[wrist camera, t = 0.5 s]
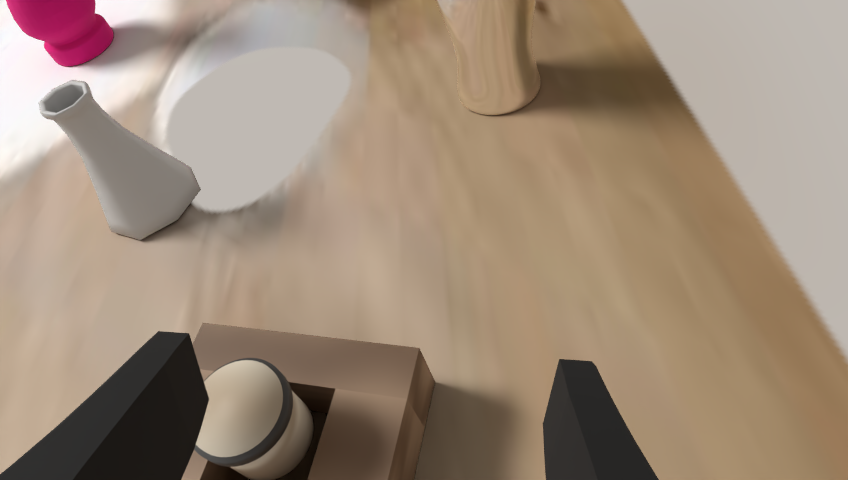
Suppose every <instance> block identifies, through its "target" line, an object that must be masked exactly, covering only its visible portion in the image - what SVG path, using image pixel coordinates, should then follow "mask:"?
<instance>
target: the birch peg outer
mask: <svg viewBox="0 0 848 480" xmlns="http://www.w3.org/2000/svg"><path fill="white" fill-rule="evenodd" d="M204 384H205V387H206V390H207V393H208V397H209V402H208V406H207V409H206V413H205V416H204V420H203V423H202V426H201V430H200V433H199V436H198V439H197V442H196V445H195V449H194V450H195V451H196V452H197V453H198V454H199V455H201V456H202V457H203V458H205V459H207V460H208V461H210V462H212V463H214V464H216V465H220V466H225V467H231V468H232V469H234V470H235V471H237V472H239V473H240V474H242V475H244V476H245V477H247V478H249V479H252V480H275V479H278V478H280V477H282V476H284V475H286V474H287V473H289V472H290V471H292V470H293V469H294V468H295V467H296V466H297V465H298V464H299V463H300V462H301V461H302V459H303V458H304V456H305V455H306V453H307V451H308V449H309V447H310V444H311V441H312V438H313V429H314V425H313V419H312V415H311V413H310V410H309V409H308V407H307V406H306V404H305V403H304V402H303V401H302V400H301V399H300V398H299V397H298V396H297V395H296V394H295V393H294V392H293V391H292V390H291V387H290V384H289V382H288V380H287V379H286V377H285V376H284V375H283V374H282V373H281V372H280V371H279V370H278V369H277V368H276V367H275V366H274V365H273V364H271V363H269V362H268V361H265V360H262V359H258V358H243V359H238V360H234V361H231V362H229V363H227V364H225V365H223V366H221V367H220V368H218V369H217V370H215V371H214V372H213V373H212V374H210V375H209V376H208V377H207V378H206V379H205V380H204Z"/></svg>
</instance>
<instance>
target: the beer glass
mask: <svg viewBox="0 0 848 480" xmlns="http://www.w3.org/2000/svg"><path fill="white" fill-rule="evenodd" d="M435 1H436V3H437V6H438V8H439V11H440V13H441V16H442V18H443V21H444V23H445V25H446V28H447V30H448V33H449V35H450V38H451V40H452V43H453V46H454V49H455V53H456V58H457V66H458V77H457V92H458V97H459V99H460V101H461V103H462V104H463V105H464V106H465V107H466V108H468V109H469V110H471V111H473V112H476V113H479V114H484V115H501V114H507V113H510V112H513V111H516V110H518V109H520V108H522V107H524V106H525V105H527V104H528V103H529V102H531V101H532V100H533V99H534V98H535V96H536V95H537V93H538V91H539V88H540V75H539V71H538V68H537V64H536V61H535V58H534V54H533V48H532V27H533V19H534V11H535V4H536V0H435Z"/></svg>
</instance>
